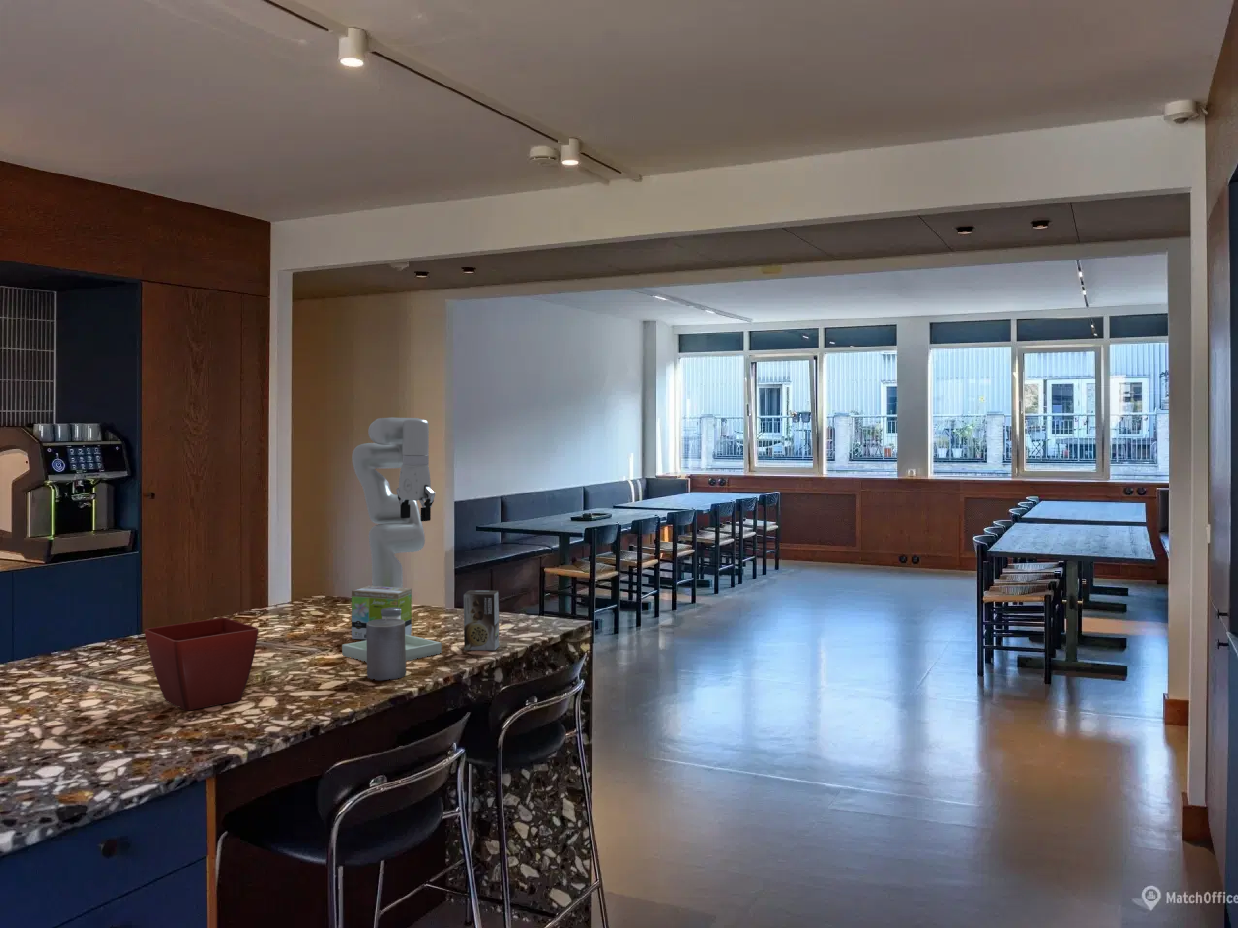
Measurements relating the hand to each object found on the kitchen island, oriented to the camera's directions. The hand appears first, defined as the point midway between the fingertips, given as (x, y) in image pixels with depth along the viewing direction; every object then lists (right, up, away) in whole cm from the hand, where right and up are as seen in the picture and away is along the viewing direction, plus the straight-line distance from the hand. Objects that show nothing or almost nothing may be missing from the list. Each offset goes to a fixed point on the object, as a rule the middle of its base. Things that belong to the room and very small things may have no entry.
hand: (415, 519), depth 298 cm
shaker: (-3, -35, -19) cm, 40 cm away
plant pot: (-36, -38, -65) cm, 84 cm away
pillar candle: (+1, -38, -42) cm, 56 cm away
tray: (-3, -36, -19) cm, 41 cm away
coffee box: (+21, -36, -10) cm, 43 cm away
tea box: (-10, -36, +3) cm, 37 cm away
